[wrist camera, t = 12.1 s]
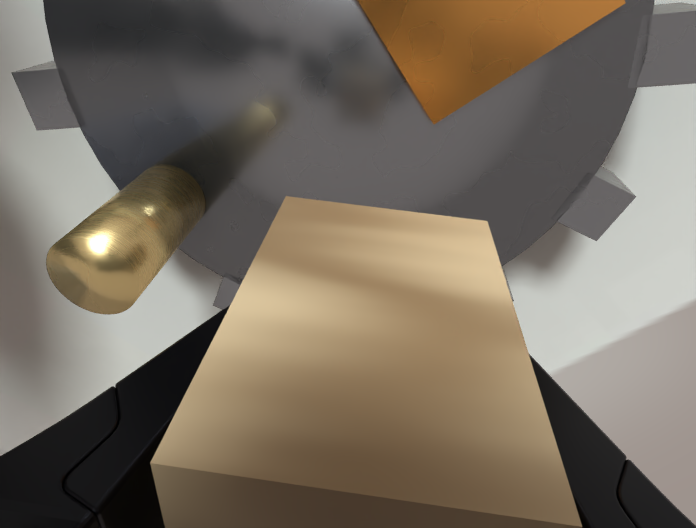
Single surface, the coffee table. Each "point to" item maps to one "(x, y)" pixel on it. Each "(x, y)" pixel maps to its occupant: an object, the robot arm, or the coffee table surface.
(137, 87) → the sprocket
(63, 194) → the coffee table surface
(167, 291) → the coffee table surface
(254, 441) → the block
